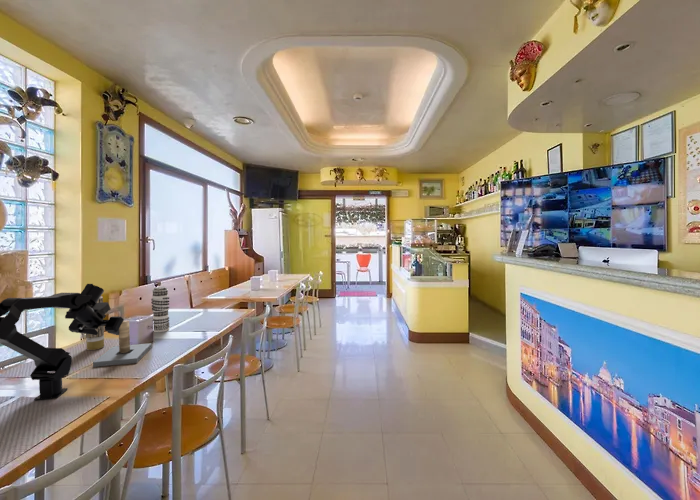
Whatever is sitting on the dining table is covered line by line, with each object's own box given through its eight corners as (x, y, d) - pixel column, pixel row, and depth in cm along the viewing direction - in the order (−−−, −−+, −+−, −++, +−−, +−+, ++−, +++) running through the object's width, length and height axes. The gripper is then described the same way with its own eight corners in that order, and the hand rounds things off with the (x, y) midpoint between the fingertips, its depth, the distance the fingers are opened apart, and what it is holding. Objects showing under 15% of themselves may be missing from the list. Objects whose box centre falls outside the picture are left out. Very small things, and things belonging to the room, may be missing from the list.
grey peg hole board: (136, 362, 138) (136, 358, 138) (93, 366, 134) (92, 362, 134) (151, 347, 157) (151, 343, 157) (114, 350, 153) (113, 346, 153)
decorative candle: (168, 326, 193) (167, 285, 191) (171, 330, 185) (170, 287, 184) (150, 329, 187) (149, 287, 186) (153, 333, 180) (152, 289, 178)
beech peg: (131, 356, 146) (130, 321, 145) (120, 358, 143) (119, 323, 142) (128, 353, 148) (127, 319, 148) (118, 356, 145) (117, 321, 145)
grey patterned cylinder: (94, 351, 152) (92, 298, 151) (82, 350, 153) (80, 298, 152) (107, 346, 159) (106, 296, 158) (96, 345, 160) (94, 295, 159)
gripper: (119, 297, 129) (138, 317, 141) (73, 297, 129) (96, 317, 141) (105, 321, 122) (126, 340, 133) (56, 321, 122) (81, 340, 133)
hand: (107, 334), depth 135 cm, fingers open, 9 cm apart
